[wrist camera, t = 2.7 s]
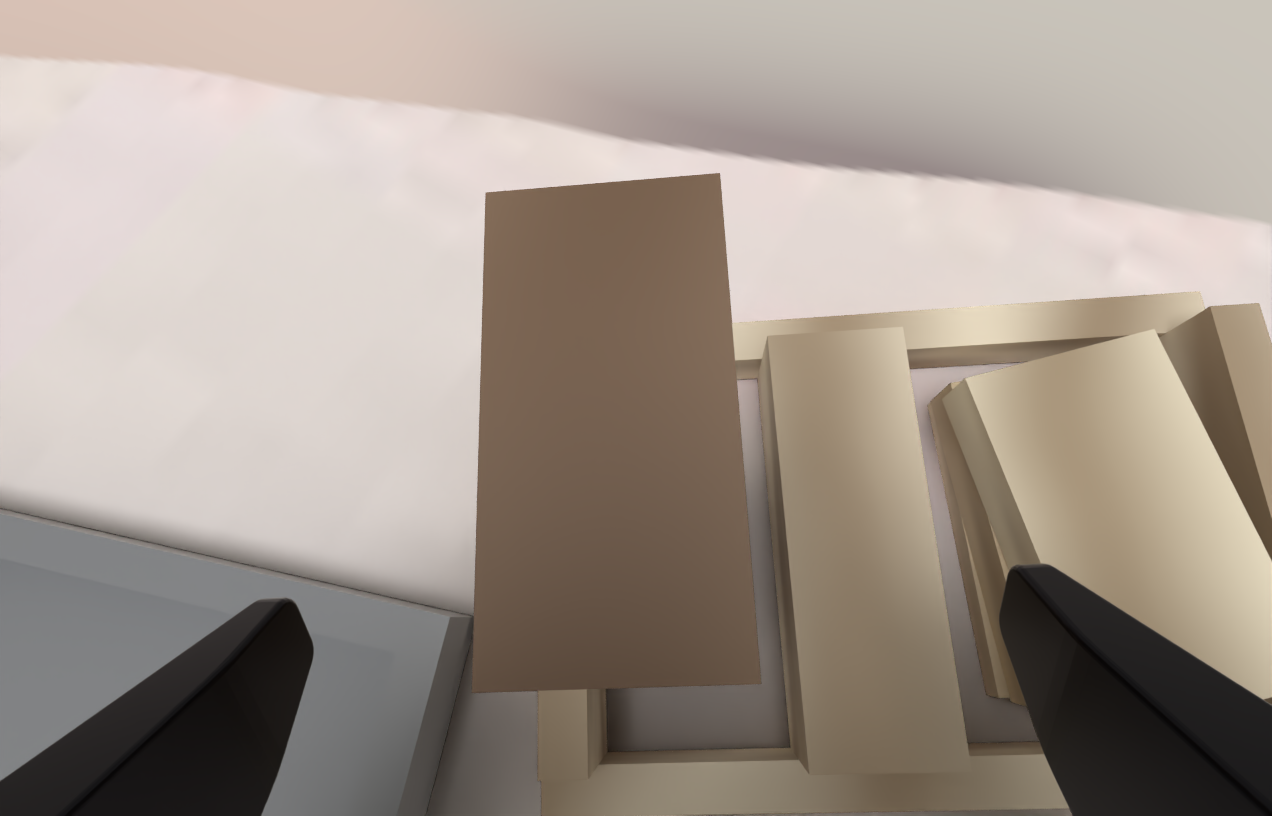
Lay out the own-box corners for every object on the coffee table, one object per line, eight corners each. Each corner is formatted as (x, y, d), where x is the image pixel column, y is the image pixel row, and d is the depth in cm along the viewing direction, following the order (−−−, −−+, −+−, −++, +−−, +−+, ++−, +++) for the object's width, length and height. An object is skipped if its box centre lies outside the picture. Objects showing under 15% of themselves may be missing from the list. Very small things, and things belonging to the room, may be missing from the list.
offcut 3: (1114, 354, 16) (1154, 328, 15) (1268, 675, 14) (1332, 682, 13) (942, 399, 16) (965, 378, 15) (1070, 725, 14) (1111, 737, 13)
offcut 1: (1072, 398, 19) (1102, 380, 17) (1145, 678, 17) (1187, 684, 15) (918, 412, 19) (936, 396, 18) (973, 691, 17) (998, 698, 16)
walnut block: (706, 473, 18) (719, 172, 6) (717, 636, 17) (761, 684, 5) (629, 477, 19) (485, 192, 6) (635, 638, 17) (470, 692, 5)
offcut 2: (1093, 375, 17) (1129, 355, 16) (1196, 676, 15) (1247, 683, 14) (930, 401, 18) (950, 382, 16) (1010, 701, 16) (1042, 711, 14)
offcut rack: (1161, 316, 18) (1246, 261, 16) (1287, 786, 15) (1422, 825, 12) (553, 356, 20) (528, 311, 17) (555, 800, 17) (524, 839, 14)
